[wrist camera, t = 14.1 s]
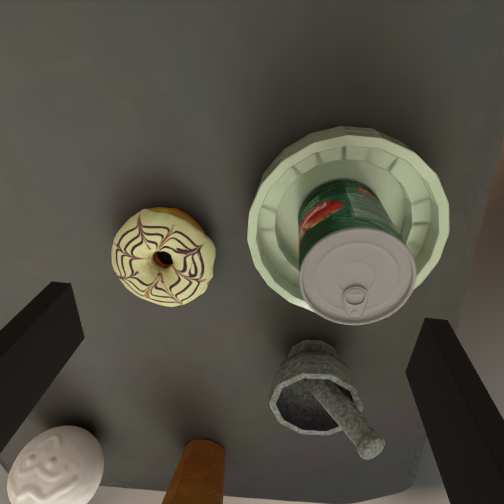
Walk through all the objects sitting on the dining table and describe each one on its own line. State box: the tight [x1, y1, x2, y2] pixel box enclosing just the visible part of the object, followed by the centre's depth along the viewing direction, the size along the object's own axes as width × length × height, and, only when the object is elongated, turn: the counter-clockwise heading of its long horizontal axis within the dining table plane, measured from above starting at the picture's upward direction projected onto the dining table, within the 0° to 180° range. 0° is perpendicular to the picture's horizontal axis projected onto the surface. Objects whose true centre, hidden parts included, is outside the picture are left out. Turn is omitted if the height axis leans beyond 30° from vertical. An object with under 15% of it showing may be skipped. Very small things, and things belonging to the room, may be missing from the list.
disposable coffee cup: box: [162, 439, 225, 504], centre depth 50 cm, size 10×10×12 cm
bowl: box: [247, 126, 449, 312], centre depth 33 cm, size 17×17×5 cm
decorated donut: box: [111, 207, 216, 307], centre depth 37 cm, size 10×11×4 cm
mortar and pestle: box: [269, 340, 385, 459], centre depth 39 cm, size 11×9×12 cm
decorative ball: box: [7, 426, 104, 504], centre depth 51 cm, size 12×12×12 cm
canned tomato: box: [298, 178, 417, 325], centre depth 29 cm, size 8×8×11 cm
